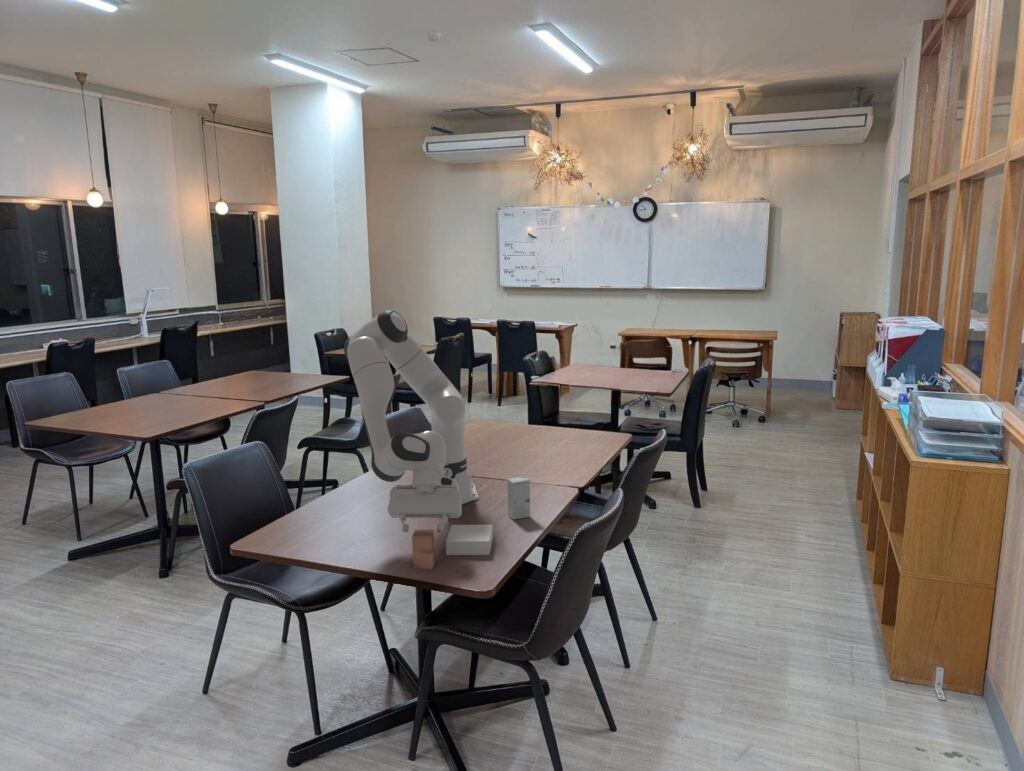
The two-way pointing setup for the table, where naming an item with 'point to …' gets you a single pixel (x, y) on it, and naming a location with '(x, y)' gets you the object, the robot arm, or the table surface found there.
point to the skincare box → (518, 498)
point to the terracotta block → (423, 549)
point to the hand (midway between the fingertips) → (422, 531)
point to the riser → (469, 540)
